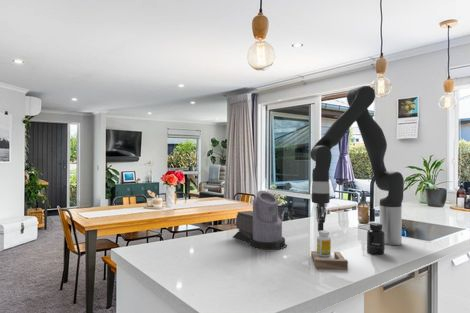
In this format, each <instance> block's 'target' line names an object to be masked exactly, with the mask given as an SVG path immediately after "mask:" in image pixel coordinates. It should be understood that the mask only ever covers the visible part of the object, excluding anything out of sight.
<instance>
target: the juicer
mask: <svg viewBox="0 0 470 313" xmlns="http://www.w3.org/2000/svg"><path fill="white" fill-rule="evenodd" d="M278 201H279V200H278V198H277V197H276V196H275V194H272V193H271V192H269V191H266V190H259V191H258V192H257V193H256V197H254V198H253V199H252V210H245V211H238V212H237V214H236V229H238V231H237V232H236V233H235V234H234V235H233V236H232V238H233V239H236V240H238V239H239V241H241V240H242V241H241V242H243V241H245V242H244V243H246V242H247V244H249V243H250V244H249V246H250V247H251V246H252V247H251V248H253V247H254V248H253V249H256V248H258V249H257V250H261V249H262V250H261V251H264V250H276V251H280V250H281V249H282V250H285V249H287V248H288V247H289V245H288V244H287V243H286V238H285V237H283V221H282V220H281V218H280V216H279V213H278V209H279V206H278V205H279V202H278ZM287 246H288V247H287ZM286 247H287V248H286ZM284 248H285V249H284ZM282 250H281V251H282Z"/></svg>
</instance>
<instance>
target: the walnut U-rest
mask: <svg viewBox="0 0 470 313" xmlns="http://www.w3.org/2000/svg"><path fill="white" fill-rule="evenodd" d="M310 252H311V255H310V257H311V260H312V262H313V264H314V267H315V269H318V270H321V269H323V270H344V271H345V270H347V271H348V269H349V268H348V267H349V261H348V260H347V259H346V258H345V257H344V256H343V255H342V253H341V251H334V253H333V254H334V255H333V256H334V257H333V258H320V257H321V256H319V255H318V253H317V250H311V251H310Z"/></svg>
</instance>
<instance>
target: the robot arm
mask: <svg viewBox="0 0 470 313" xmlns="http://www.w3.org/2000/svg"><path fill="white" fill-rule="evenodd" d="M375 99H376V91H375V89H374V88H373V87H372V86H369V85H361V86H356V87H352V88H350V89H349V90H348V91H347V94H346V101H347V105H348V106H349V107H348V108H347V109H346V110H345V111H344V112H343V113H342V114H341V115H339V117H337V119H335V120H334V121H333V123H331V124H330V126H329V127H328V129H327V130H326V131H325V133H324V134H323V136H322V137H321V138H320V139H319V140H317V142H316V143H315V144H314V145H313V146H312V147H311V150H310V158H311V160H312V161H314V162H315V166H314V168H313V169H312V174H311V176H312V177H311V179H312V180H311V181H312V182H311V202H312V203H313V204H316V206H315V217H316V219H315V220H316V221H317V222H316V223H317V232H318V233H319V231H321V230H324V224H325V222H326V216H327V208H326V207H325V206H326V205H325V204H327V205H328V204H329V203H330V202H331V201H330V200H331V199H330V198H331V196H330V194H331V193H330V191H331V190H330V169H331V163H332V160H333V159H332V155H333V154H332V149H333V148H334V147H336V146H337V145H339V143H340V142H341V140H342V139H343V138H344V136H345V134H346V133H347V132H348V131H349V129H350V128H351V126H352V125H353V124H354V123H355V122H356V125H357V128H358V131H359V133H360V135H361V139H362V142H363V144H364V147H365V150H366V152H367V156H368V159H369V162H370V165H371V169H372V173H373V178H374V182H375V185H376V186H377V188H378V189H379V190H381V191H385V192H387V195H386V197H383V198H380V199H379V224H382V231H383V232H384V233H385V245H390V246H398V245H399V246H400V245H402V244H403V243H402V236H403V235H402V234H403V233H402V228H403V227H402V221H403V220H402V215H403V213H402V207H403V206H402V203H403V201H404V191H405V189H404V188H405V182H404V176H403V175H402V173H401V172H399V171H389V170H387V168H386V166H385V165H386V164H385V160H384V159H385V155H386V152H387V147H388V145H387V139H386V135H385V134H384V131H383V129H382V128H381V126H380V125H379V124H378V123H377V122H376V120H375V119H374V118H373V117H372V115H371V114H370V111H369V109H368V108H369V107H370V106H371V105H372V104H373V103H374V101H375Z"/></svg>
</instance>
